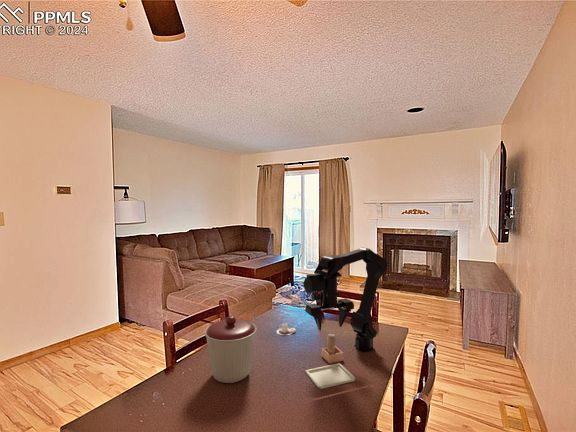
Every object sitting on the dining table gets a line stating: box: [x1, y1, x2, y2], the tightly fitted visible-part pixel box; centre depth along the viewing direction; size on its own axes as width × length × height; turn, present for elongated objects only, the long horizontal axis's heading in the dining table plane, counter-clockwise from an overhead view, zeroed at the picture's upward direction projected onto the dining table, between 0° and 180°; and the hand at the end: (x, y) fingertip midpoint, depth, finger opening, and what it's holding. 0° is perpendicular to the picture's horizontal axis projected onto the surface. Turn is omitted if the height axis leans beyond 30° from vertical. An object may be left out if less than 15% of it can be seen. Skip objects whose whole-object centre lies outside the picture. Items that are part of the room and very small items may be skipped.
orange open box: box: [321, 345, 344, 364], centre depth 122 cm, size 6×6×4 cm
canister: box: [203, 315, 258, 384], centre depth 110 cm, size 18×18×21 cm
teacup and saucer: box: [276, 322, 297, 336], centre depth 148 cm, size 9×8×4 cm
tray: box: [304, 362, 357, 390], centre depth 109 cm, size 14×11×1 cm
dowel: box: [326, 333, 336, 354], centre depth 122 cm, size 3×3×9 cm
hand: (330, 328), depth 121 cm, fingers open, 9 cm apart
